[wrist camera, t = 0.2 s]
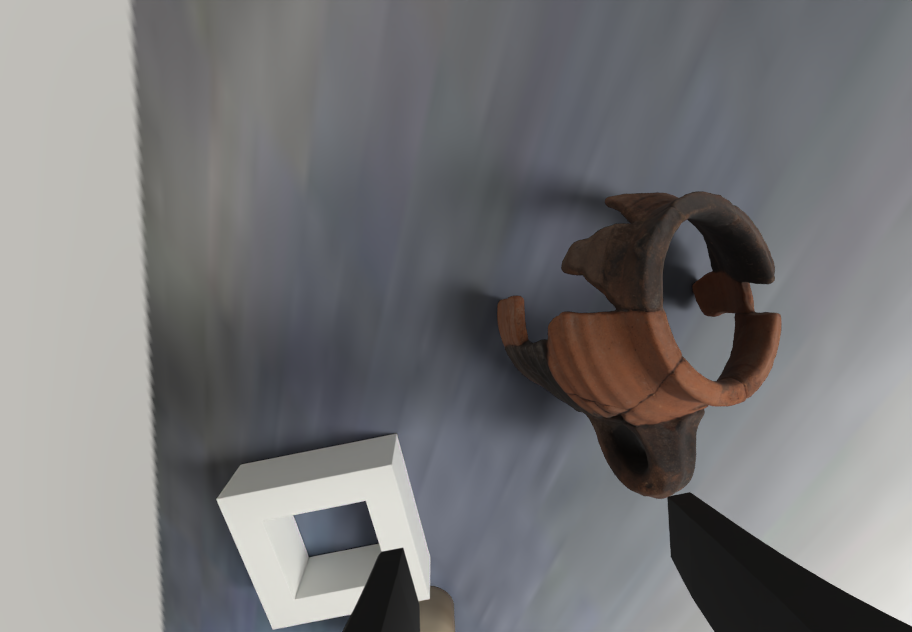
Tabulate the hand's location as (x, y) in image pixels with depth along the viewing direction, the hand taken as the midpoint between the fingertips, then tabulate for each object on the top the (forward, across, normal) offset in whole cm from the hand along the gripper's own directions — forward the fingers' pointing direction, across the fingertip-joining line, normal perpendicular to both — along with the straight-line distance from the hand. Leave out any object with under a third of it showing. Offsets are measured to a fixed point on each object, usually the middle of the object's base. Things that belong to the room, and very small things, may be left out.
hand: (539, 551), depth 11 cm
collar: (+10, +9, +6) cm, 15 cm away
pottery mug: (+10, -6, -2) cm, 12 cm away
